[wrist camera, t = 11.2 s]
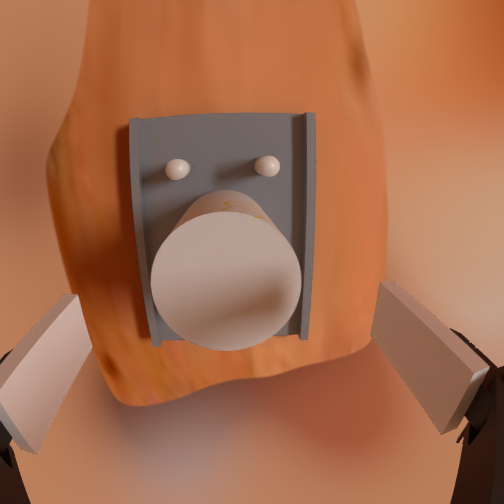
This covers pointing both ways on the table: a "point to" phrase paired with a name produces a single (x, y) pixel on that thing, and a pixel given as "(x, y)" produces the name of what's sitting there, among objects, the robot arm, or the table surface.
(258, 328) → the cup
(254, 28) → the table surface
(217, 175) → the tray
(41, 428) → the robot arm
